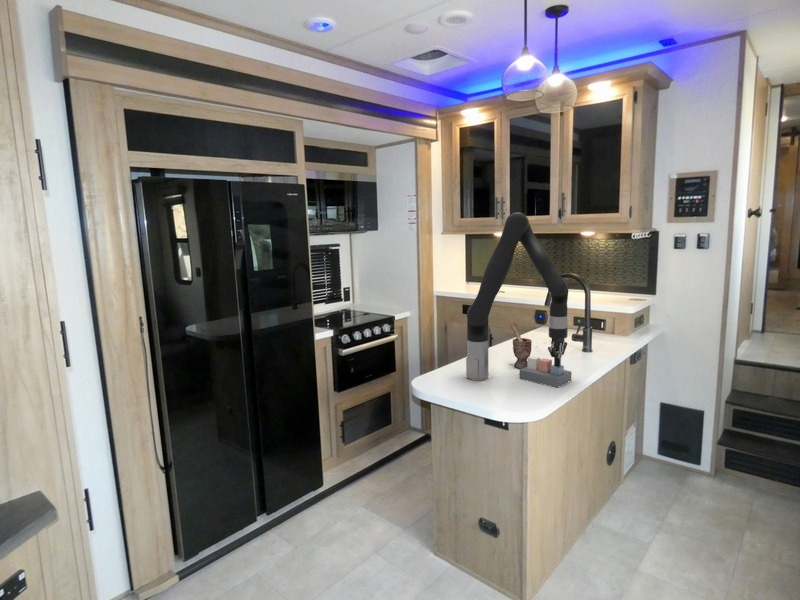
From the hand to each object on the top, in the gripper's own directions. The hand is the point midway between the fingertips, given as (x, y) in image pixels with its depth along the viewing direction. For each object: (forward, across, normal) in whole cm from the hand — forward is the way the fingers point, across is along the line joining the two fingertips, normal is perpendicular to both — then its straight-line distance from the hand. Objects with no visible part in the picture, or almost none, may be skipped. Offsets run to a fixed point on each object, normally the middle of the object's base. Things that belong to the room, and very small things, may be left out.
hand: (557, 365), depth 203 cm
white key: (+3, 0, +11) cm, 12 cm away
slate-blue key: (+5, 0, 0) cm, 5 cm away
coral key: (+3, 0, +6) cm, 6 cm away
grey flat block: (+7, 0, +6) cm, 9 cm away
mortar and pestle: (+7, +10, +25) cm, 28 cm away
